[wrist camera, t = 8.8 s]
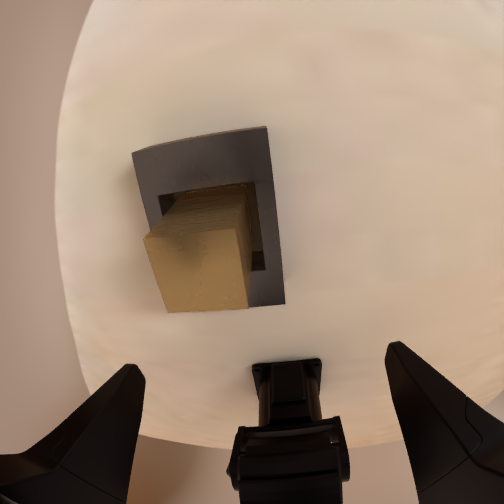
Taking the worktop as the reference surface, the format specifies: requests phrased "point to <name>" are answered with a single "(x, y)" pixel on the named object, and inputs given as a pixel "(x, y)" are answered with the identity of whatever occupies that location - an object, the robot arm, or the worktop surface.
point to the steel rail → (214, 174)
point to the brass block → (204, 251)
